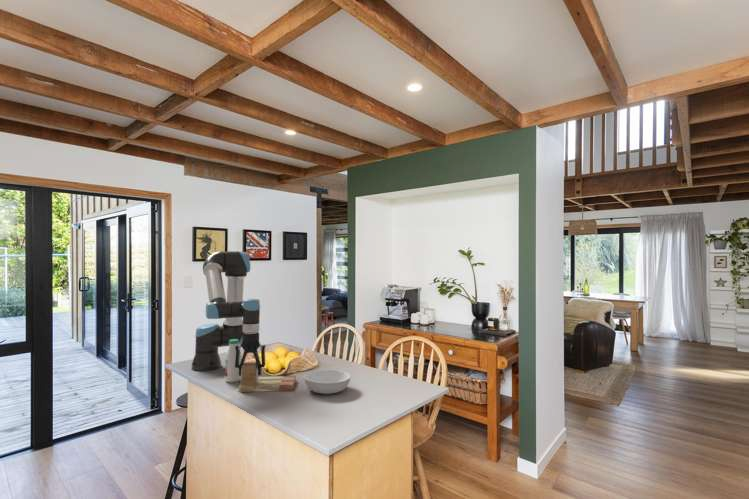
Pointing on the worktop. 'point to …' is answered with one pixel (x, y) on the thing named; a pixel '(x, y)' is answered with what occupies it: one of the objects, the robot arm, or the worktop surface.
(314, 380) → the serving bowl
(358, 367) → the worktop surface
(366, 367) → the worktop surface
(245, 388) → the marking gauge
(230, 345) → the milk bottle
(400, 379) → the worktop surface
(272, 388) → the maple board
